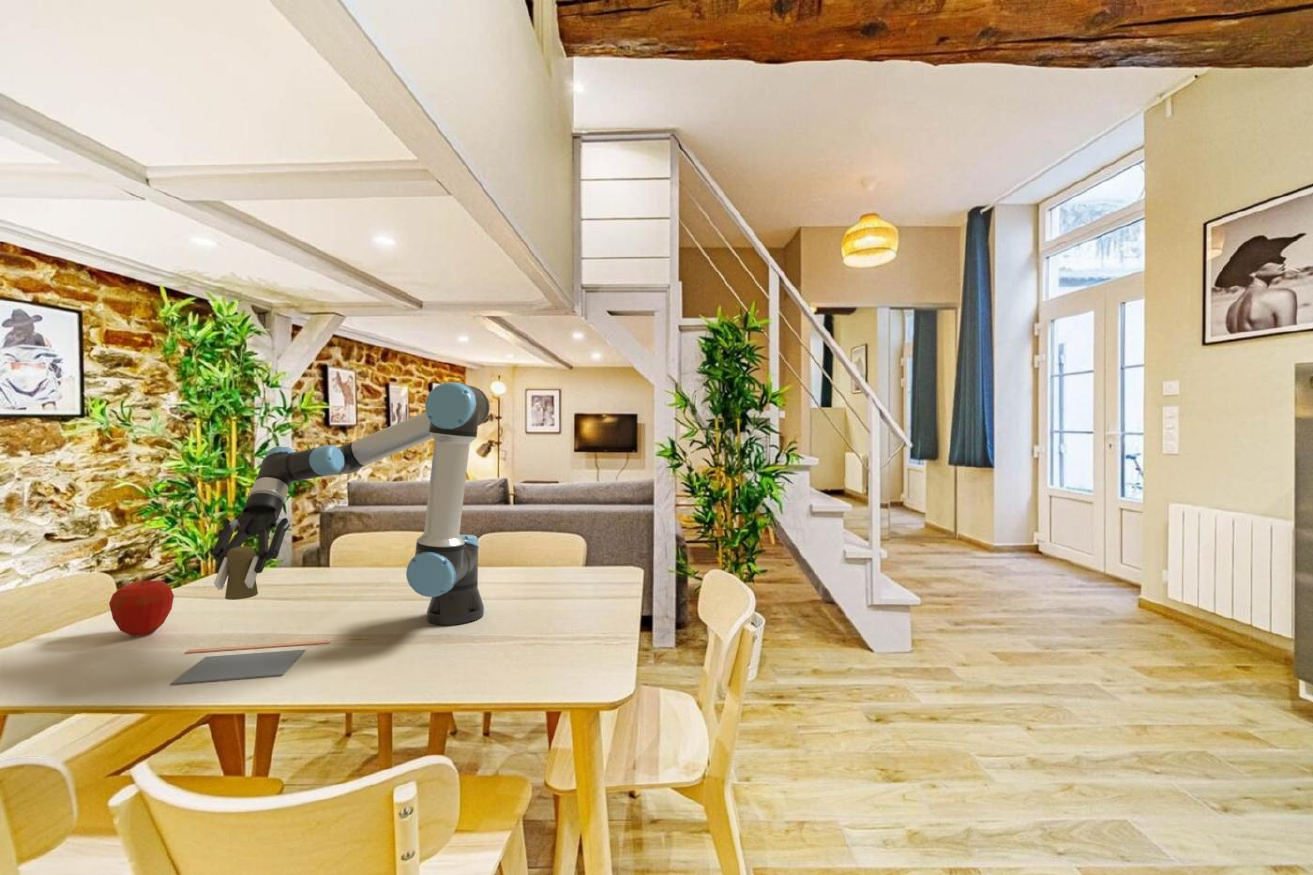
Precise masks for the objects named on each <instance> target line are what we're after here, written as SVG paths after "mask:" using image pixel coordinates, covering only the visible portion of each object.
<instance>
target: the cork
mask: <svg viewBox="0 0 1313 875" xmlns="http://www.w3.org/2000/svg"><path fill="white" fill-rule="evenodd" d="M254 556H256V549H254V547H252V546H249V545H247V546H245V545H243V546H242V545H241V546H240V547H235V548H232V549H230V550H229V551H228V553H227V560H228V561H229V562H230V567H229V574H228V577H227V580H226V581H227V582H226V589H225V594H224V595H225V596H224V599H225V600H228V601H229V600H230V601H233V600H235V601H236V600H244V599H249V598H252V597H253V598H254V597H255V596H257V595H258V594H259V591H258V586H257V580H256V579H257V578H256V579H255V582H254V585H253V588H248V587H247V585H246V584H245V579H246V576H247V574H248V571H249V568H250V566H251V563H252V560H253V557H254Z"/></svg>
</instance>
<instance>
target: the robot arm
mask: <svg viewBox="0 0 1313 875" xmlns="http://www.w3.org/2000/svg"><path fill="white" fill-rule="evenodd" d="M424 409H425V412H422V413H420V414H418V415H415V416H413V417H411V418H408V419H405V420H403V421H400V422H398V423H396V424H393V425H390V426H388V427H385V428H383V429H380V430H378V431H375V432H373V433H370V434H368V435H366V436H363V437H361V438H358V439H356V440H353V441H351V442H348V443H345V444H343V445H340V446H336V445H333V444H329V445H321V446H318V447H313V448H309V449H305V450H300V451H297V450H295V449H293V448H291V447H290V446H285V447H283V446H275V447H272V448H270V449H269V450H268V451H267V453H266V454H265V456H264V458H263V459H262V461H261V464H260V468H259V471H258V473H257V476H256V478H255V480H254V482H253V485H252V487H251V490H250V492H249V494H248V497H247V498H246V499H247V500H246V501H245V504H244V506H243V508H242V513H241V514H240V516H238V518H237V519H232V520H230V519H229V518H225V519H223V522H222V523H223V527H222V530H221V532H220V533H219V534H220V535H219V537H218V539H217V541H216V543H215V546H214V547H213V549H212V552H211V555H212V557H213V558H214V559H215V561H217V564H216V566H215V569H214V570H215V571H214V572H215V573H216V574H217V575H216V577H215V579H214V582H213V585H214V586H215V587H216V589H217V590H223V589H224V586H225V583H227V582H226V581H227V580H228V574H229V567H230V562H229V561H228V560H227V553H228V551H229V550H230V549H232V548H235V547H240V546H242V545H243V544H244V543H245V541H246V540H248V539H250V537H251V536H253V535H258V552H257V555H255V556H254V557H253V560H252V563H251V566H250V568H249V571H248V574H247V576H246V579H245V584H246V585H247V587H248V588H253V585H254V582H255V579H257V577H258V574H261V573H263V570H264V569H265V565H266V563H267V561H268V560H271V559H272V560H275V559H277V558H278V556H279V553H280V551H281V547H282V544H283V541H284V537H285V534H286V531H287V530H288V529H289V528H290V527H291V524H290V521H289V520H288V518H287V517H284V518H279V517H280V515H281V512H282V510H283V507H284V503H285V501H286V498H287V495H288V492H289V491H290V488H291V484H293V483H295V482H301V481H305V480H311V479H316V478H320V477H321V478H322V477H329V476H336V475H344V474H345V475H350V474H352V473H356V472H358V471H360V470H361V469H362V468H363V467H366V466H368V465H370V464H373V463H375V462H377V461H380V460H383V459H385V458H387V457H391V456H393V455H395V454H397V453H398V454H399V453H401V452H403V451H405V450H407V449H410V448H413V447H415V446H418V445H420V444H423V443H426V442H428V441H431V440H434V441H433V442H434V443H433V452H432V460H431V469H430V476H429V477H430V479H429V487H428V496H427V505H426V511H425V512H426V514H425V521H424V522H425V523H424V530H423V533H422V534H421V535H420V536H419V537H418V538H417V539H416V543H415V544H416V546H415V555H414V556H413V557H412V558H411V559H410V561H409V563H408V565H407V566H406V572H405V573H406V574H405V575H406V581H407V582H408V585H409V586H410V587H411V588H412V590H413V591H414V592H415V593H417V594H418V595H420V596H423V597H427V598H431V599H430V601H429V605H428V607H427V610H426V620H427V622H428V623H430V624H435V625H440V626H454V625H462V623H463V624H467V623H466V622H468V623H471V622H470V621H472V622H474V621H473V620H475V619H477V620H480V619H481V618H482V617H483V616H484V615H485V607H484V606H485V605H484V603H483V599H482V597H481V593H480V591H479V585H478V581H479V580H478V577H479V575H478V574H479V548H480V546H479V539H478V537H477V536H476V535H473V534H460V533H461V523H462V516H463V515H462V514H463V505H464V498H465V497H464V496H465V488H466V479H467V472H468V464H469V463H468V461H469V453H470V445H471V443H472V442H474V441H475V440H476V439H477V437H478V429H479V428H478V427H479V426H480V425H482V424H484V423H485V421H486V419H487V418H488V417H489V414H490V409H491V408H490V401H489V398H488V396H487V395H486V394H485V393H484V392H483V391H482V390H481V389H480V388H478V387H476V386H472V385H468V384H465V383H462V382H456V381H455V382H454V381H453V382H452V381H451V382H443V383H440V384H439V385H437V386H435V387H434V388H433V389H432V390H430V392H429V393H428V395H427V397H426V399H425V404H424ZM237 526H239V527H238V529H237ZM275 526H276V527H275ZM274 527H275V530H274V534H273V536H272V539H271V543H270V545H269V538H270V530H271V529H273V528H274ZM236 529H237V531H236ZM234 531H236V533H235V535H234V536H233V534H234ZM232 537H233V538H232ZM483 614H484V615H483ZM479 618H480V619H479ZM475 621H476V620H475Z"/></svg>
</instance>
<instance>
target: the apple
mask: <svg viewBox="0 0 1313 875" xmlns="http://www.w3.org/2000/svg"><path fill="white" fill-rule="evenodd" d="M174 597H175V595H174V592H173V590H172V588H171V586H170V585H169V584H168V583H166V582H165V581H163V580H145V578H142V580H140V581H135V582H134V581H133V582H131V583H128V584H126V585H123V586H121V587H120V588H119V589H118V590H116V591H115V592H113V594H112V596H111V598H110V600H109V603H108V605H109V608H110V612H111V616H112V620H113V622H114V624H115V625H116V627H117V628H118V630H119V631H120V632H122V633H124V634H127V635H129V636H132V637H137V636H139V637H141V636H147V635H151V634H153V633H155V632H156V631H157V630H158V629H159V628H161V626H162V625H164V623H165V621H166V620H167V618H168V616H169V615H170V613H171V611H172V610H173V604H174Z"/></svg>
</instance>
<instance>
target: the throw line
mask: <svg viewBox="0 0 1313 875" xmlns="http://www.w3.org/2000/svg"><path fill="white" fill-rule="evenodd" d="M331 642H332V639H326V640H312V641H311V640H309V641H297V642H294V641H293V642H284V643H282V642H281V643H268V644H267V643H266V644H255V645H253V644H252V645H237V646H228V647H227V646H226V647H225V646H223V647H211V648H210V647H209V648H194V649H188V650H186V651H185V652H184V654H186V653H187V654H200V653H212V652H213V651H215V652H227V651H228V650H229V651H238V650H239V651H242V649H243V650H254V649H255V650H256V649H268V648H269V649H270V648H281V647H295V646H296V647H297V646H310V645H325V644H326V645H329V644H330V643H331ZM213 653H214V652H213Z"/></svg>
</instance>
